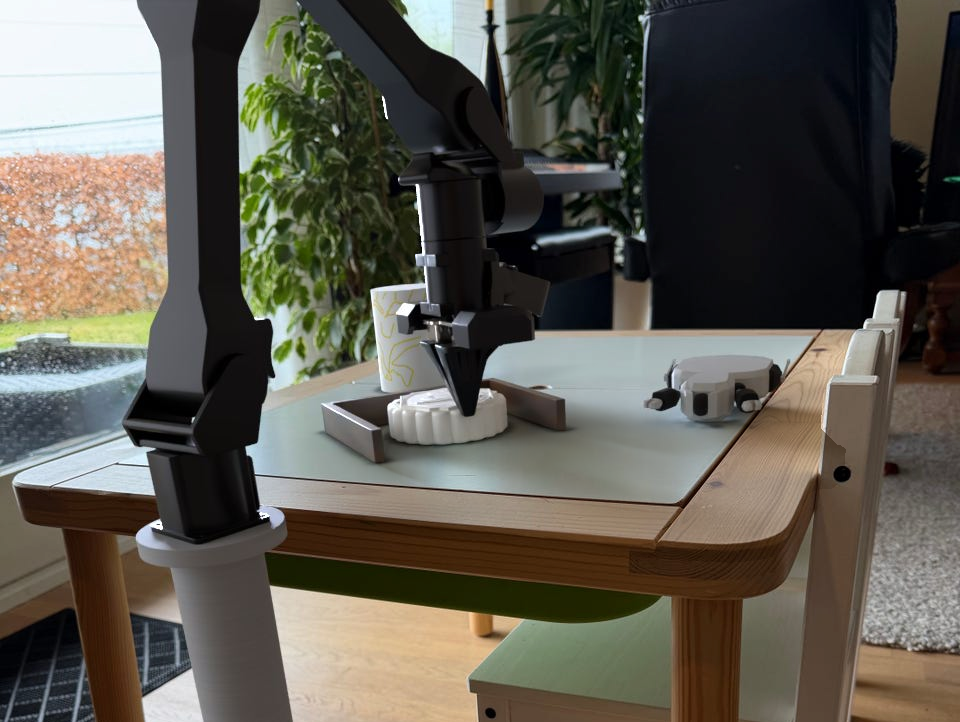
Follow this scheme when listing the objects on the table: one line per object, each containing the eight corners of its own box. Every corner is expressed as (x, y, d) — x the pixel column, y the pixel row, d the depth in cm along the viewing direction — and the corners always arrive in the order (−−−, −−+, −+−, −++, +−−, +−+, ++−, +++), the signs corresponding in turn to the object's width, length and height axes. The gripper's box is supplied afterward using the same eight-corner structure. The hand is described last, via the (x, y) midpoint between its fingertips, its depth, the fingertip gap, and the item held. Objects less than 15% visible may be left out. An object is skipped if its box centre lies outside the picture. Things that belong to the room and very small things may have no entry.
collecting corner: (566, 429, 97) (565, 398, 96) (375, 463, 90) (371, 430, 89) (495, 404, 111) (493, 377, 109) (324, 432, 104) (320, 403, 102)
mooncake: (490, 413, 106) (488, 380, 105) (522, 436, 96) (520, 398, 94) (381, 427, 104) (377, 392, 102) (401, 451, 93) (397, 413, 92)
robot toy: (764, 438, 91) (790, 394, 103) (765, 390, 89) (792, 350, 101) (636, 434, 96) (674, 392, 108) (635, 388, 94) (674, 351, 106)
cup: (370, 393, 123) (358, 292, 118) (399, 380, 130) (389, 284, 125) (429, 393, 120) (419, 289, 115) (455, 380, 127) (447, 282, 122)
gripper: (585, 229, 82) (591, 417, 88) (492, 232, 97) (503, 391, 104) (463, 242, 78) (478, 437, 84) (386, 242, 94) (404, 407, 100)
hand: (468, 416), depth 93 cm, fingers closed
